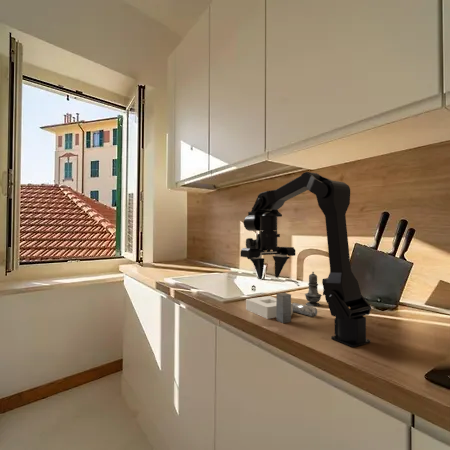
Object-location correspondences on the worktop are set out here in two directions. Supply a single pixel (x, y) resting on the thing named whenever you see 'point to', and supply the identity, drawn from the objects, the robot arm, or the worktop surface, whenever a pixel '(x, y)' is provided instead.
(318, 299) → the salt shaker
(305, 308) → the round bit
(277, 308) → the square bit
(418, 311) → the worktop surface
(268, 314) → the socket block
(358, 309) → the robot arm
